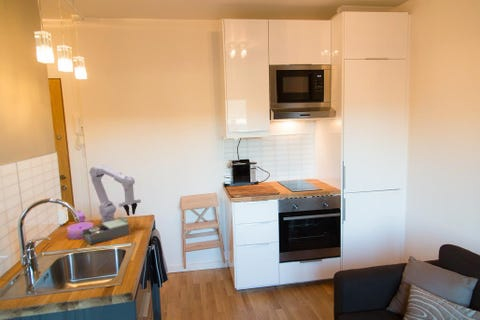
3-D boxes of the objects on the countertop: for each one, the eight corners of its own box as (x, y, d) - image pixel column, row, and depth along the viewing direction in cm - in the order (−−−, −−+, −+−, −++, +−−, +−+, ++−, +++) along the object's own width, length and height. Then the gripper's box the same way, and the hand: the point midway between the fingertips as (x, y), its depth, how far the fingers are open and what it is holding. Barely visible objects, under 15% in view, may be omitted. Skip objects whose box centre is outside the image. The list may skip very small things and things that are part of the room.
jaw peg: (96, 242, 189) (95, 233, 188) (94, 240, 192) (93, 231, 191) (103, 240, 191) (102, 231, 191) (101, 239, 194) (100, 229, 194)
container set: (94, 236, 200) (92, 216, 198) (67, 241, 192) (65, 221, 191) (92, 225, 221) (90, 207, 220) (68, 229, 214) (66, 211, 213)
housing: (83, 239, 195) (82, 229, 194) (120, 229, 211) (120, 220, 210) (90, 245, 185) (89, 235, 184) (129, 234, 201) (128, 225, 200)
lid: (102, 224, 202) (101, 220, 202) (120, 220, 210) (119, 215, 210) (110, 229, 192) (109, 224, 192) (128, 224, 200) (128, 220, 200)
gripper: (121, 198, 198) (122, 218, 200) (142, 194, 208) (143, 213, 210) (116, 196, 204) (118, 216, 205) (137, 192, 213) (139, 211, 215)
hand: (130, 214), depth 208 cm, fingers open, 3 cm apart
